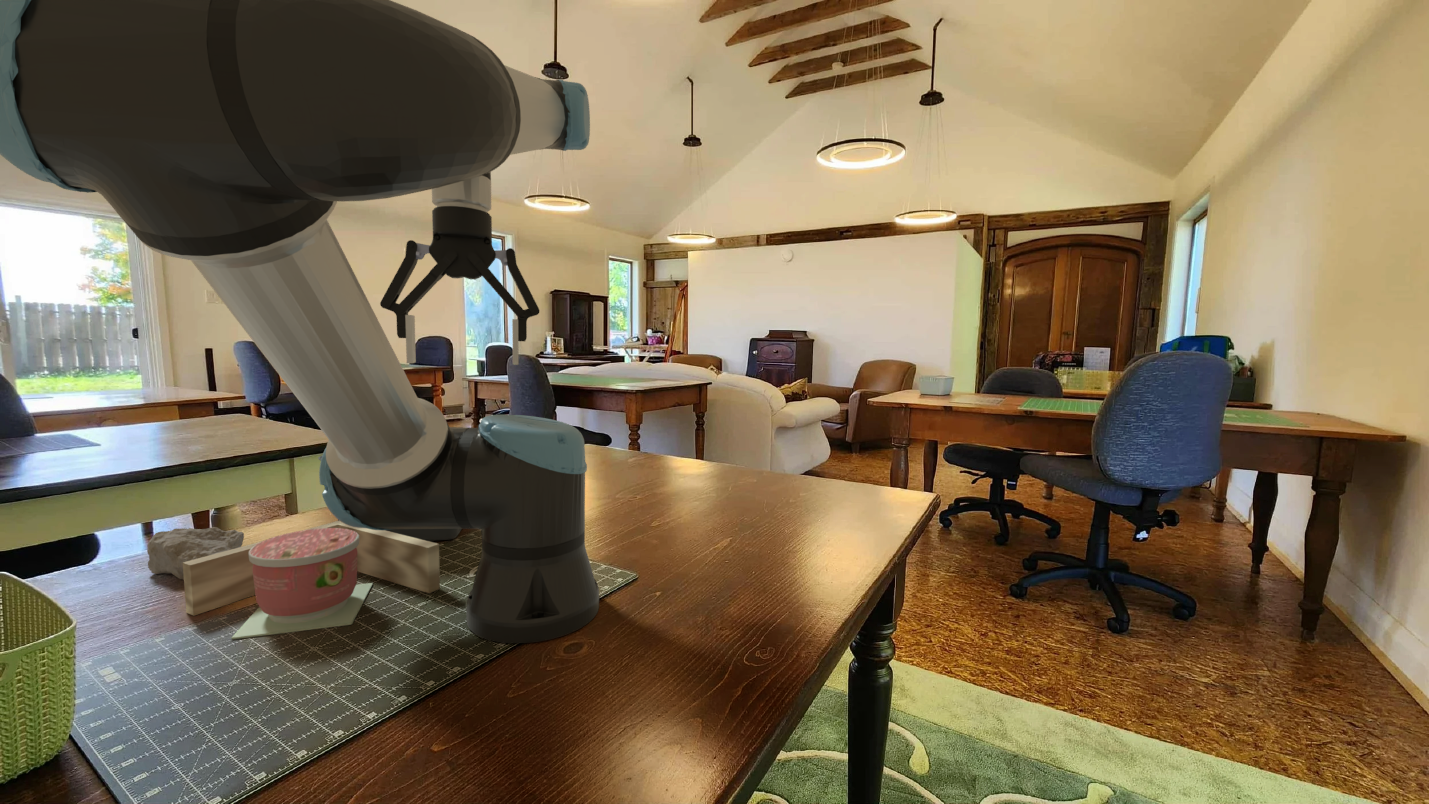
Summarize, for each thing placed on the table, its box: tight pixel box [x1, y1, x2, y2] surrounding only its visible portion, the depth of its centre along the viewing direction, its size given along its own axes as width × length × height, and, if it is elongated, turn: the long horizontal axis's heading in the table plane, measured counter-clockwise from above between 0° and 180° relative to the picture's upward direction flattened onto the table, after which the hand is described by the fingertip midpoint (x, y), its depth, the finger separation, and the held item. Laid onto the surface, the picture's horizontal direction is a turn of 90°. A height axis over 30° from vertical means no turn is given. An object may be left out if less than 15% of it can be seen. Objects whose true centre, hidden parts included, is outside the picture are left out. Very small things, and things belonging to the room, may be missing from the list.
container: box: [249, 528, 359, 624], centre depth 67 cm, size 10×10×8 cm
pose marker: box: [230, 582, 374, 640], centre depth 67 cm, size 11×11×1 cm
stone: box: [146, 526, 245, 580], centre depth 76 cm, size 8×10×6 cm
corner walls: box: [183, 520, 441, 617], centre depth 69 cm, size 20×18×6 cm
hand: (464, 363), depth 81 cm, fingers open, 13 cm apart
